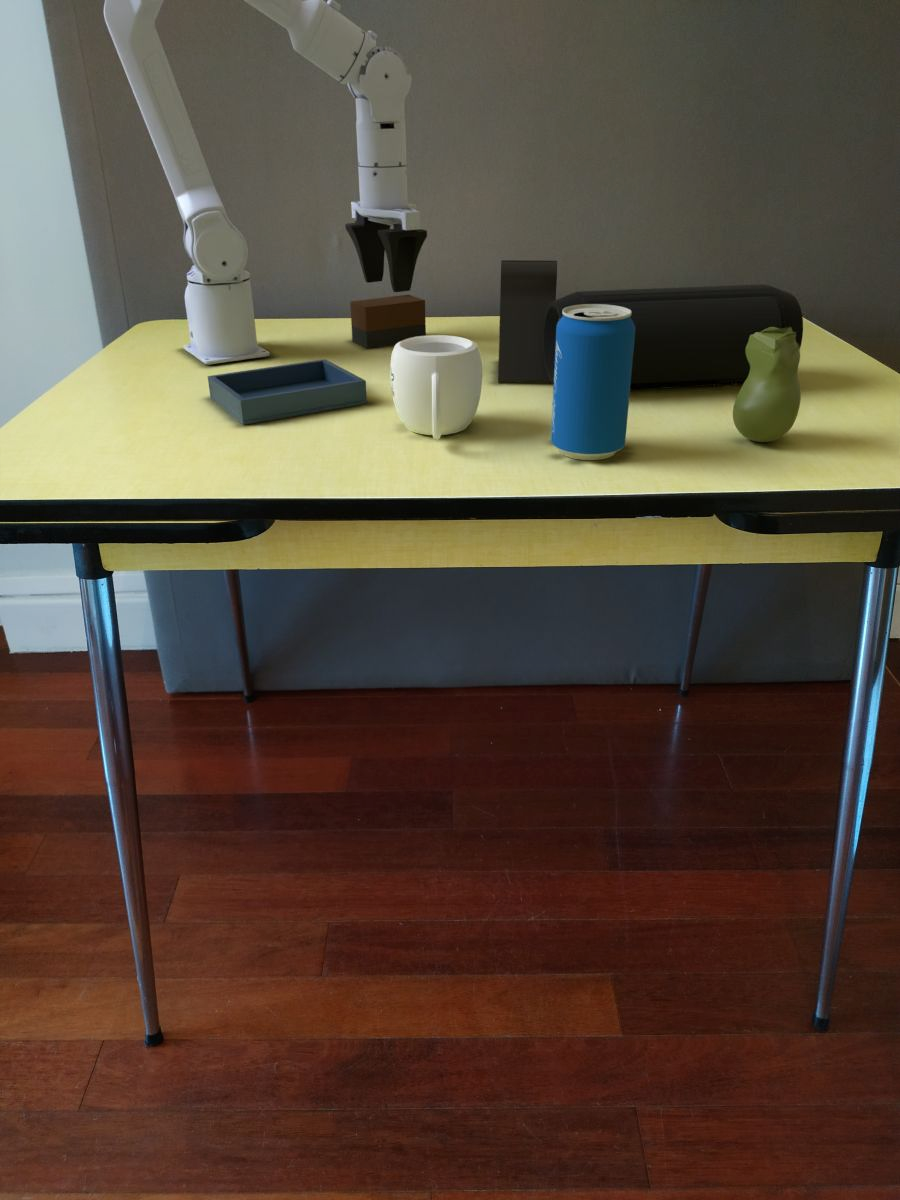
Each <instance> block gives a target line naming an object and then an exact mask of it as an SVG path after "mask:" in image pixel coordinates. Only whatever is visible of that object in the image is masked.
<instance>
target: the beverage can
mask: <svg viewBox="0 0 900 1200" xmlns="http://www.w3.org/2000/svg"><path fill="white" fill-rule="evenodd" d="M631 313H632V312H631V310H629V309H627V308H625V307H620V306H615V305H605V304H583V305H574V306H569V307H566V308H564V309H563V311H562V314H563V316H562V318H561V319H560V320H559V322H558V324H557V327H556V347H555V368H554V383H553V390H552V391H553V392H552V411H551V412H552V413H551V431H550V432H551V433H550V443H551V445H553V447H554V448H555V449H557V450H558V451H559V453H560V454H561V455H563V456H565V457H568V458H570V459H574V460H581V461H599V460H605V459H609V458H611V457H613V456H614V455H615V454H616V453H617V452H619V451H621V450H622V449H624V447H625V445H626V441H627V440H626V438H627V428H628V427H627V426H628V417H629V406H630V405H629V404H630V396H631V395H630V394H631V390H630V384H631V373H632V362H633V351H634V339H635V325H634V323H633V321H632V319H631V318H630V316H631Z"/></svg>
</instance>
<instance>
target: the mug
mask: <svg viewBox="0 0 900 1200" xmlns="http://www.w3.org/2000/svg"><path fill="white" fill-rule="evenodd" d="M389 371H390V372H389V378H390V389H391V395H392V400H393V403H394V406H395V411H396V413H397V415H398V418H399V419H400V422H401V423H402V424H403V425H404V426H405V427H406V428H407V429H408V431H411V432H413V433H416V434H421V435H424V436H425V435H427V436H432V438H433V439H434V440H436V441H437V440H439V439H441V437H442V436H447V435H452V434H457V433H460V432H462V431H465V430H466V429H467V428H468V427H469V425H470V424H471V423H472V421H473V420H474V419H475V415H476V413H477V411H478V407H479V405H480V404H479V403H480V399H481V394H482V385H483V363H482V355H481V351H480V349H479V347H478V344H477V343H476V342H475V341H473V340H470V339H468V338H465V337H462V336H455V335H443V334H442V335H441V334H429V335H426V336H418V337H412V338H408V339H405V340H403V341H400V342H398V343H397V344H396V345H394V347H393V349H392V352H391V355H390V365H389Z"/></svg>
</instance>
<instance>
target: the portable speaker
mask: <svg viewBox="0 0 900 1200" xmlns="http://www.w3.org/2000/svg"><path fill="white" fill-rule="evenodd" d="M583 304H605V305H615V306H620V307H625V308H627V309H629V310H631V312H632V313H631V316H630V318H631V319H632V321H633V323H634V325H635V339H634V351H633V362H632V373H631V384H630V391H636V390H655V389H656V390H658V389H673V388H674V389H675V388H676V389H677V388H693V387H711V386H712V387H713V386H729V385H732V386H733V385H743V384H744V382H745V381H746V379H747V377H748V375H749V372H750V364H749V362H748V359H747V357H746V352H745V349H746V345H747V343H748V341H749V337H750V335H753V334H755V333H756V332H761V331H763V330H765V329H767V328H769V327H776V328H779V329H783V328H784V329H785V328H786V327H787V328H789V327H791V328H792V331H793V332H796V338H795V339H796V342H798V343H799V348H800V349H801V347H802V341H803V336H804V317H803V312H802V308H801V305H800V303H799V301H798V299H797V297H796V296H794V294H792V293H790V292H788V291H786V290H783V289H780V288H778V287H775V286H772V285H769V284H738V285H736V284H735V285H733V284H732V285H711V286H707V285H706V286H686V287H684V286H682V287H659V288H657V287H656V288H634V289H632V288H631V289H629V288H628V289H605V290H582V291H574V292H571V293H570V294H567V295H564V296H563V297H560V298H556V300H555V301H553V302H551V303H550V304H549V306H548V308H547V311H546V315H545V321H544V329H543V353H544V362H545V368H546V372H547V375H548V378H549V379H550V381H551V382H552V383H553V384H554V368H555V347H556V327H557V324H558V322H559V320H560V319H561V318H562V316H563V314H562V311H563V309H564V308H566V307H569V306H574V305H583Z"/></svg>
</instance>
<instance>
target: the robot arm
mask: <svg viewBox="0 0 900 1200" xmlns="http://www.w3.org/2000/svg"><path fill="white" fill-rule="evenodd" d="M242 1H244V2H245V3H246V4H248V5H249V6H251V7H252V8H254V9H256V10H257V11H258V12H260V13H261V14H263V15H264V16H266V17H268V18H269V19H271V20H272V21H274V22H275V23H277V24H278V25H279V26H281V27H283V28H284V29H286V31H287V32H288V35H289V39H290V43H291V46H292V49H293V50H294V52H296V53H298V54H299V55H300V56H301V57H303V58H305V59H306V60H307V61H309V62H311V63H312V64H313V65H315V66H316V67H317V68H319V69H320V70H322V71H323V72H325V74H327V75H329V76H330V77H331V78H333V79H334V80H336V81H337V82H338V83H340V84H342V85H346V84H347V87H348V90H349V93H351V94H350V95H352V97H353V98H354V99H355V113H356V122H355V129H356V130H355V131H356V147H357V148H356V151H357V169H358V188H359V189H358V191H359V200H358V201H351V202H350V203H351V204H350V208H351V219H355V221H354V222H350V223H346V224H345V230H346V232H347V233H348V235H349V237H350V239H351V241H352V243H353V245H354V247H355V250H356V254H357V257H358V259H359V263H360V267H361V271H362V274H363V275H362V276H363V278H364V281H365V283H367V284H368V283H377V282H383V279H384V278H383V277H384V271H385V270H384V269H385V256H386V259H387V265H388V271H389V280H390V284H391V288H392V289H391V290H392V292H394V293H402V292H409V291H411V289H412V285H413V279H414V273H415V270H416V265H417V262H418V257H419V254H420V251H421V249H422V247H423V245H424V243H425V241H426V240H427V237H428V231H427V229H422V226H421V225H422V223H421V220H422V219H421V217H422V216H421V211H420V210H417V205H416V204H414V203H409V198H408V197H409V196H408V195H409V194H408V165H407V164H408V163H407V133H406V132H407V130H406V128H407V127H406V124H407V123H406V119H405V117H406V115H405V114H406V113H405V100H406V97H407V96H408V94H409V92H410V90H411V87H412V82H413V77H412V74H410V73H409V68H408V64H406V62H405V60H406V59H405V58H404V57H403V56H402V54H401V53H400V52H398V50H396V49H394V48H393V47H390V46H385V45H384V46H383V45H381V46H380V45H379V46H377V39H378V34H376V33H375V32H374V31H372V30H368V31H367V32H366V31H365V30H363V29H362V28H361V27H359V26H358V25H356V24H355V23H354V22H353V21H352V20H350V19H349V18H348V17H346V16H344V14H342V13H341V12H340V10H341V8H342V5H341V4H339V3H338V2H337V1H335V0H327V1H325V0H242ZM163 3H164V0H104V3H103V4H104V5H103V17H104V22H105V24H106V27H107V30H108V32H109V34H110V37H111V39H112V43H113V45H114V47H115V50H116V52H117V56H118V57H119V60H120V62H121V63H120V64H121V66H122V68H123V70H124V72H125V75H126V78H127V80H128V83H129V85H130V87H131V90H132V94H133V95H134V98H135V101H136V104H137V105H138V107H139V110H140V114H141V116H142V118H143V121H144V123H145V126H146V128H147V131H148V134H149V136H150V138H151V141H152V143H153V147H154V149H155V151H156V153H157V156H158V159H159V161H160V164H161V166H162V169H163V171H164V175H165V177H166V179H167V181H168V184H169V187H170V190H171V191H172V194H173V197H174V199H175V203H176V206H177V209H178V212H179V214H180V217H181V219H182V223H183V244H184V245H183V246H184V249H185V252H186V253H187V255H188V257H189V258H190V259H191V261H192V263H193V265H192V266H191V269H189V271H188V272H187V273H186V280H187V286H186V287H185V291H184V304H185V312H186V318H187V327H188V332H189V333H188V334H189V339H190V343H189V344H187V343H186V344H184V345H183V349H184V350H185V351H186V352H188V353H189V354H190V355H192V356H193V357H194V358H196V359H197V360H199V361H200V362H201V363H203V364H204V365H209V366H210V365H215V364H224V363H230V362H238V361H245V360H251V359H257V358H259V359H260V358H265V357H269V356H271V353H270V351H268V350H267V349H265V348H264V347H262V346H260V345H258V337H257V328H256V320H255V311H254V309H255V308H254V302H253V292H252V283H251V272H249V271H248V270H245V267H246V265H247V262H248V258H249V248H248V244H247V241H246V238H245V237H244V235H243V234H242V232H241V231H240V230H239V229H238V228H237V227H236V226H235V225H234V224H233V223H232V221H231V220H230V218H229V216H228V214H227V212H226V209H225V206H224V204H223V201H222V200H221V198H220V195H219V193H218V192H217V189H216V186H215V185H214V181H213V179H212V175H211V173H210V170H209V168H208V165H207V162H206V160H205V158H204V155H203V152H202V149H201V147H200V144H199V141H198V139H197V136H196V133H195V130H194V128H193V125H192V122H191V119H190V117H189V113H188V111H187V109H186V106H185V103H184V100H183V98H182V95H181V92H180V89H179V86H178V85H177V81H176V78H175V77H174V73H173V71H172V67H171V66H170V63H169V60H168V58H167V55H166V51H165V49H164V46H163V43H162V41H161V38H160V36H159V33H158V31H157V28H156V20H157V18H158V15H159V13H160V10H161V8H162V5H163ZM391 227H393V228H391Z"/></svg>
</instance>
